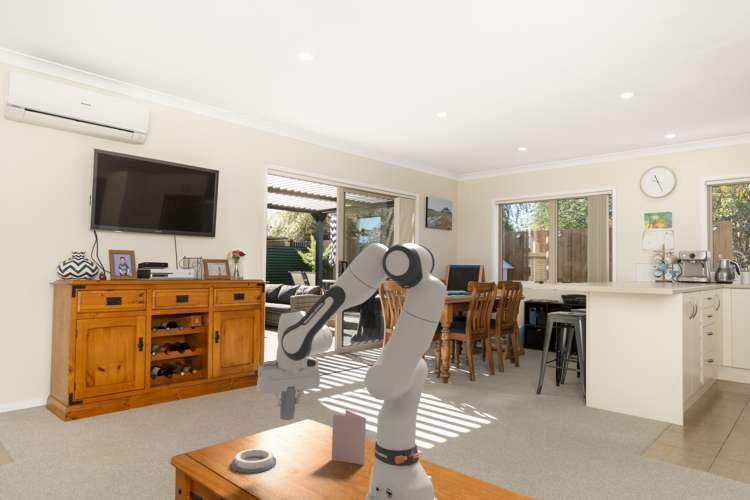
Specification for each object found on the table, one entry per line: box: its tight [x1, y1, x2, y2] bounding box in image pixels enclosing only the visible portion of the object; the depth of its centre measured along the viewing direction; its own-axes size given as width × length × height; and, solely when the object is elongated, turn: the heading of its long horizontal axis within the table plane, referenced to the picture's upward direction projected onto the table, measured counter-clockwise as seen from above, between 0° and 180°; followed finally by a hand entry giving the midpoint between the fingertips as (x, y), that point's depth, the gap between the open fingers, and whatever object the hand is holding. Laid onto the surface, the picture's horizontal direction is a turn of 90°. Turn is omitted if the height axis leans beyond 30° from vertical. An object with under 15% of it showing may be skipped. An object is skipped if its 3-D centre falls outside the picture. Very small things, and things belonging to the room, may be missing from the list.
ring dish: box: [231, 448, 277, 474], centre depth 155 cm, size 14×14×3 cm
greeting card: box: [331, 409, 367, 466], centre depth 160 cm, size 11×7×15 cm, turn 38°
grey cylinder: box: [279, 387, 297, 421], centre depth 153 cm, size 4×4×10 cm
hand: (287, 404), depth 153 cm, fingers closed on grey cylinder, 5 cm apart
